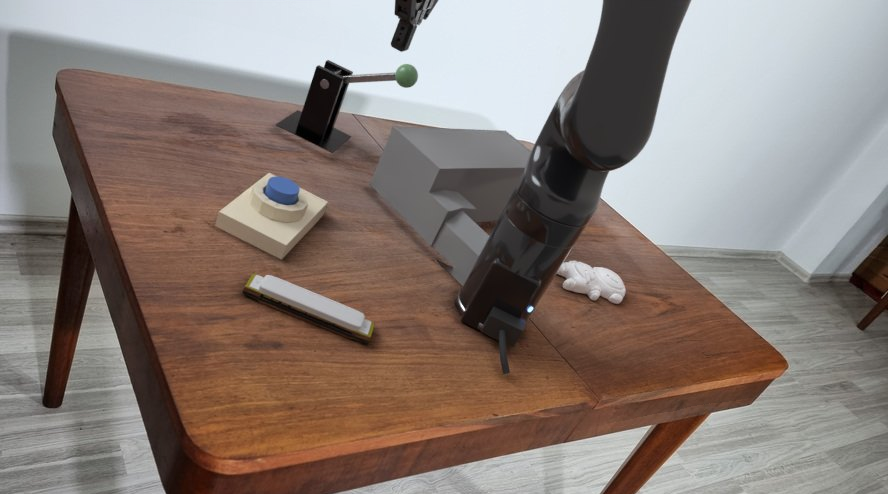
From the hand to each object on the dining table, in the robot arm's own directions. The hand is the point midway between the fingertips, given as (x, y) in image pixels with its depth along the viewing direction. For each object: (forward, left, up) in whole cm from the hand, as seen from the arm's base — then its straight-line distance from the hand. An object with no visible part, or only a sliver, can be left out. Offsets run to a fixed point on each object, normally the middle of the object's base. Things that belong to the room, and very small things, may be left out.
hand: (398, 48), depth 97 cm
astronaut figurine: (+2, -40, -21) cm, 45 cm away
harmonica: (-36, -8, -21) cm, 42 cm away
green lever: (+6, +3, -9) cm, 12 cm away
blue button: (-22, +3, -17) cm, 28 cm away
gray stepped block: (+1, -20, -21) cm, 29 cm away
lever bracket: (+6, +9, -21) cm, 23 cm away
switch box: (-22, +3, -21) cm, 30 cm away
